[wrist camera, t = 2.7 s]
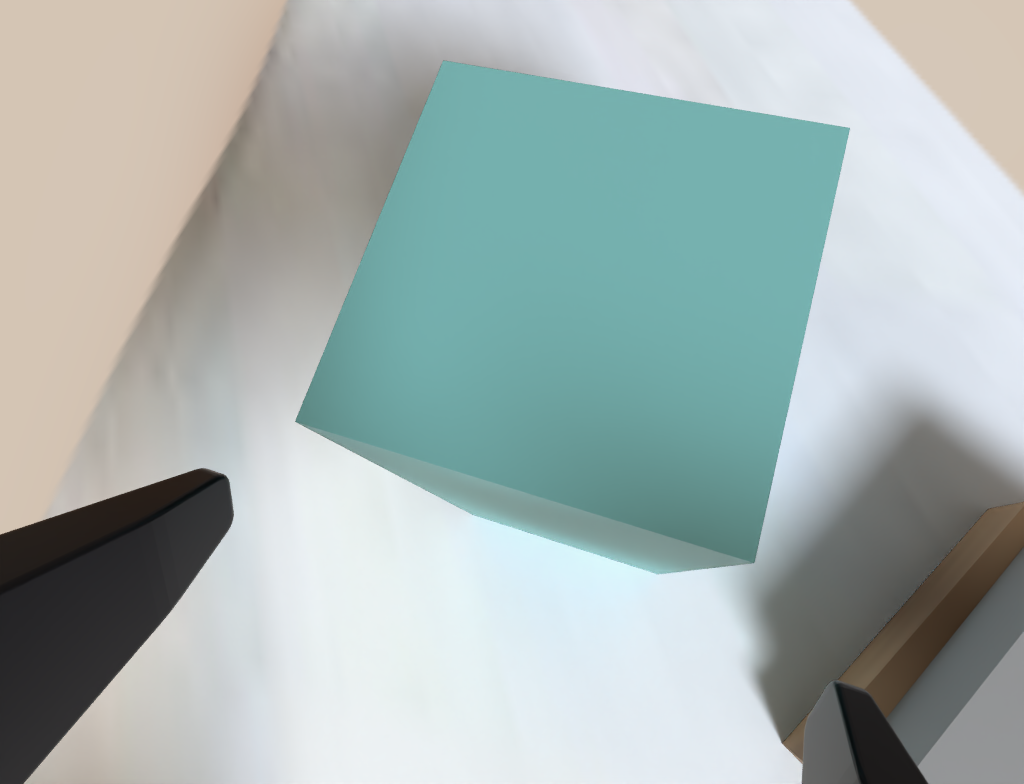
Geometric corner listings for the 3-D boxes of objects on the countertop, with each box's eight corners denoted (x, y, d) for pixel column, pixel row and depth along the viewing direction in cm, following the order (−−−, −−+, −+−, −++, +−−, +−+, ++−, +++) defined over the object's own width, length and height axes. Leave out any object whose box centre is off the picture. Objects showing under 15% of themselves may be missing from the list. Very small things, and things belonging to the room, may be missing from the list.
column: (658, 574, 19) (753, 562, 7) (472, 514, 20) (294, 421, 9) (705, 389, 21) (849, 127, 9) (528, 344, 22) (443, 60, 10)
